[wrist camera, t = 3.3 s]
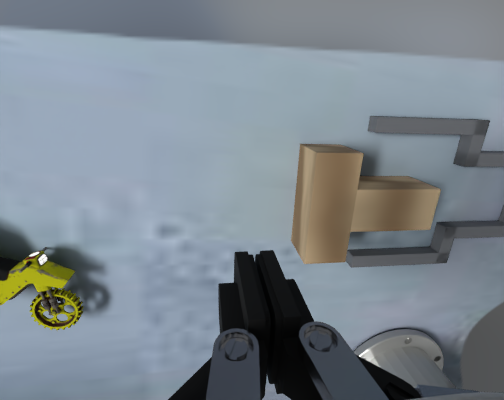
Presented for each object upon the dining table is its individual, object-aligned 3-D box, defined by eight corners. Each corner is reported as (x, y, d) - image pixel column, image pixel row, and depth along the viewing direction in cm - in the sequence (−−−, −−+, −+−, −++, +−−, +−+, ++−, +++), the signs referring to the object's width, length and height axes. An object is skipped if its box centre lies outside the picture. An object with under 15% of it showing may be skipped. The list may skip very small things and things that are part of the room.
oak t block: (291, 240, 27) (304, 263, 23) (300, 143, 24) (316, 152, 20) (394, 237, 28) (422, 258, 25) (415, 145, 25) (450, 154, 22)
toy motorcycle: (-120, 317, 20) (-113, 230, 18) (-70, 284, 24) (-61, 209, 22) (66, 349, 23) (86, 277, 21) (85, 315, 27) (104, 252, 25)
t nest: (345, 260, 28) (351, 267, 27) (370, 115, 24) (378, 117, 23) (496, 254, 31) (506, 260, 30) (545, 121, 26) (559, 122, 25)
